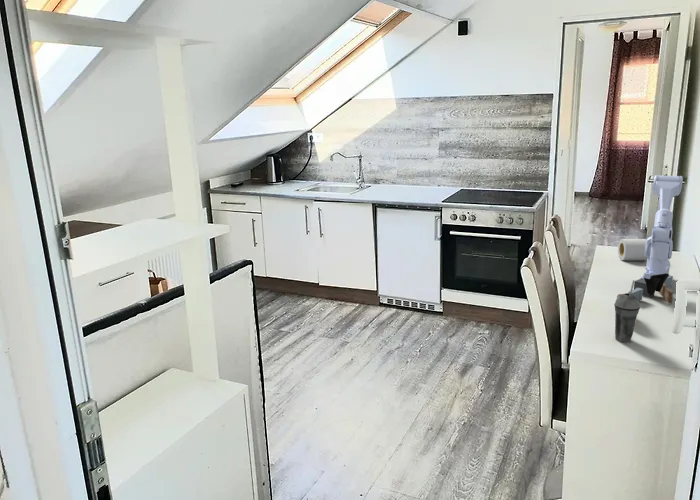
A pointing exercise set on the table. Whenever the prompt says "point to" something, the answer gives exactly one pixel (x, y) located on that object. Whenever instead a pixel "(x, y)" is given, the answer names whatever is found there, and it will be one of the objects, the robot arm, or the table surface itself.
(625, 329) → the beverage cup
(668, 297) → the door
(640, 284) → the grey rectangular prism
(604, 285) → the table surface
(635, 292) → the wall frame
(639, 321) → the table surface
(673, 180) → the robot arm
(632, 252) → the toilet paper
